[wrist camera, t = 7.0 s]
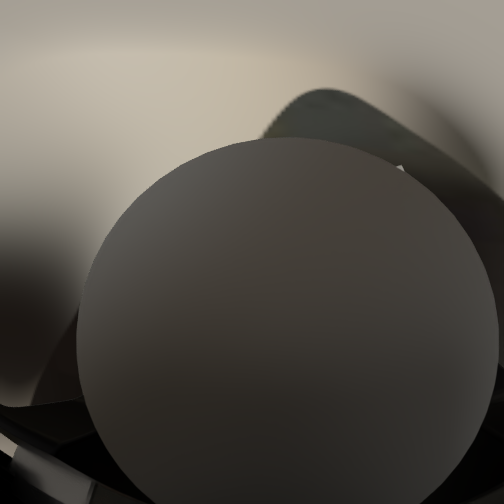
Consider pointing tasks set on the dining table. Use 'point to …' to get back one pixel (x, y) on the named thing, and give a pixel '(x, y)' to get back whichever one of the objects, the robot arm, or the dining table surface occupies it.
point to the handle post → (287, 331)
